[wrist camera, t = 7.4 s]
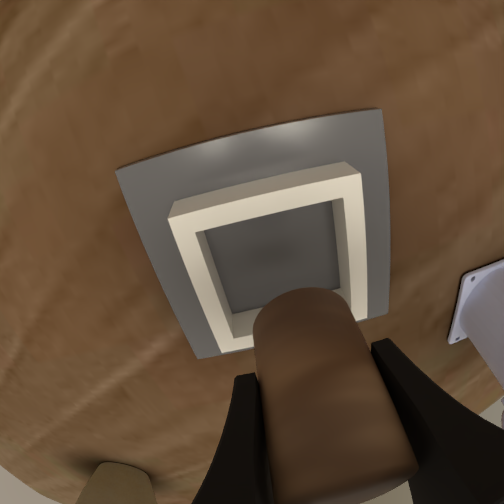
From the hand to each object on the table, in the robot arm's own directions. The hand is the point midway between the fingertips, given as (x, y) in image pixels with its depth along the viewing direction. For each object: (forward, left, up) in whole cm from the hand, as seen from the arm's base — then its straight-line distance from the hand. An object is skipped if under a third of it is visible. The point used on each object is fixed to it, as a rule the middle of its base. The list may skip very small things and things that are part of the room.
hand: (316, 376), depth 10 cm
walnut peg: (0, 0, -2) cm, 2 cm away
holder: (0, 0, -9) cm, 9 cm away
